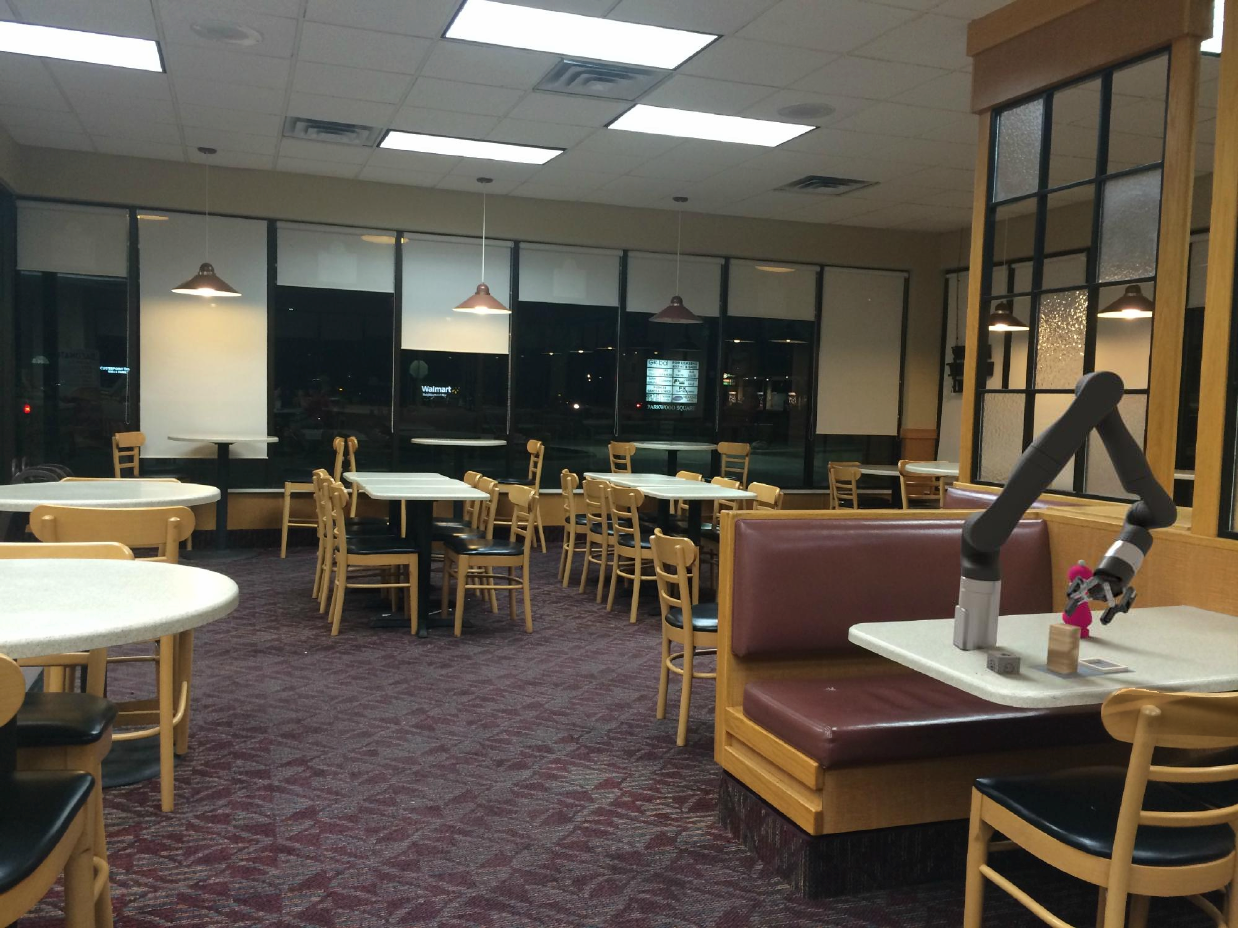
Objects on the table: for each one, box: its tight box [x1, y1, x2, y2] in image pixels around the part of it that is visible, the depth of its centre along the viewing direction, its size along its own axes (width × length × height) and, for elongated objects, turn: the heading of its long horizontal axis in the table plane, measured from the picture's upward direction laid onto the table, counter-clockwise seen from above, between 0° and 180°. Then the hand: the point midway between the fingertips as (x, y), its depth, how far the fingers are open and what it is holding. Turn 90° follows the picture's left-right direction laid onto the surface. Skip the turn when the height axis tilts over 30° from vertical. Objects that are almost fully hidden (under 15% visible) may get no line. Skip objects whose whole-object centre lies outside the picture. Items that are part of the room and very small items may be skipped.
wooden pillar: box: [1046, 622, 1081, 674], centre depth 212 cm, size 4×4×10 cm
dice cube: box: [986, 650, 1022, 675], centre depth 210 cm, size 5×5×5 cm
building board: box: [1027, 657, 1136, 680], centre depth 215 cm, size 22×10×2 cm, turn 114°
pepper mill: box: [1061, 559, 1094, 638], centre depth 253 cm, size 7×7×20 cm
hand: (1084, 618), depth 215 cm, fingers open, 8 cm apart
